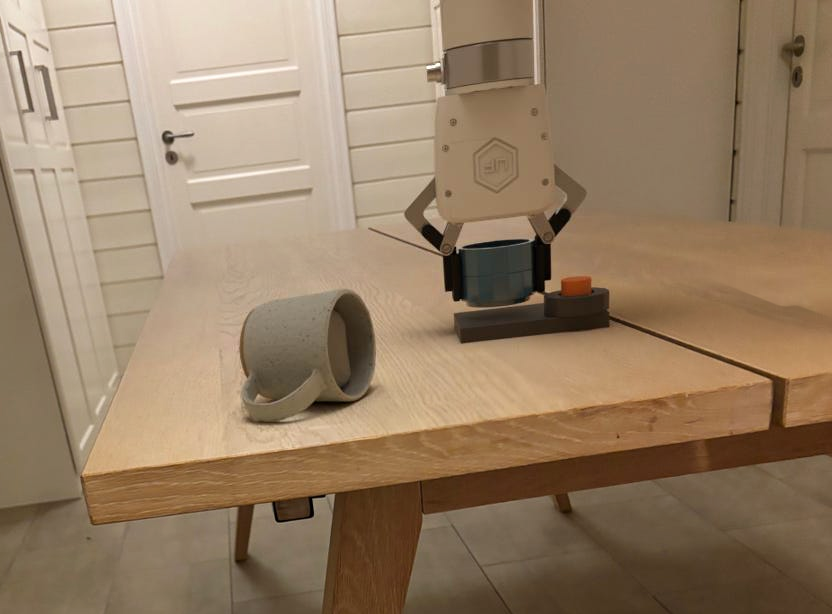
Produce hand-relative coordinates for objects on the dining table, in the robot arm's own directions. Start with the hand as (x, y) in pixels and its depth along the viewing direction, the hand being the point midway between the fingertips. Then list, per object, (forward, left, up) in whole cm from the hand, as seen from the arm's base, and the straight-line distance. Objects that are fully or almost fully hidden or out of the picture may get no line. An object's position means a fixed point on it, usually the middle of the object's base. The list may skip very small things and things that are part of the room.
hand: (497, 293), depth 88 cm
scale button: (-7, +4, -1) cm, 7 cm away
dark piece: (-3, +1, -3) cm, 4 cm away
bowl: (0, 0, -1) cm, 1 cm away
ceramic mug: (+16, +23, -3) cm, 28 cm away
